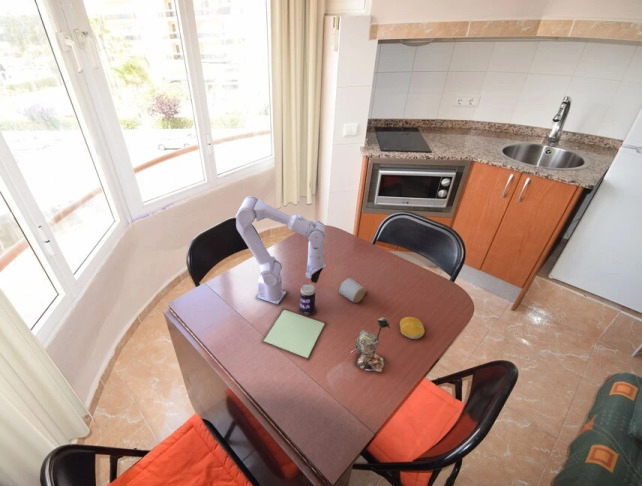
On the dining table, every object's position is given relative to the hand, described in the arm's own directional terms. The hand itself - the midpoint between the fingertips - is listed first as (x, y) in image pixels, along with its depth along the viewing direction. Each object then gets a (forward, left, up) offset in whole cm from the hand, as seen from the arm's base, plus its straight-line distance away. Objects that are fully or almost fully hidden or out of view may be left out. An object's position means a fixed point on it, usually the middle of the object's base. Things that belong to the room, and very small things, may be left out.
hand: (314, 281), depth 126 cm
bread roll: (+38, 0, -10) cm, 39 cm away
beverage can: (0, -7, -10) cm, 12 cm away
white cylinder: (+14, +9, -10) cm, 19 cm away
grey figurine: (+27, -20, -10) cm, 35 cm away
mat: (0, -19, -10) cm, 21 cm away
